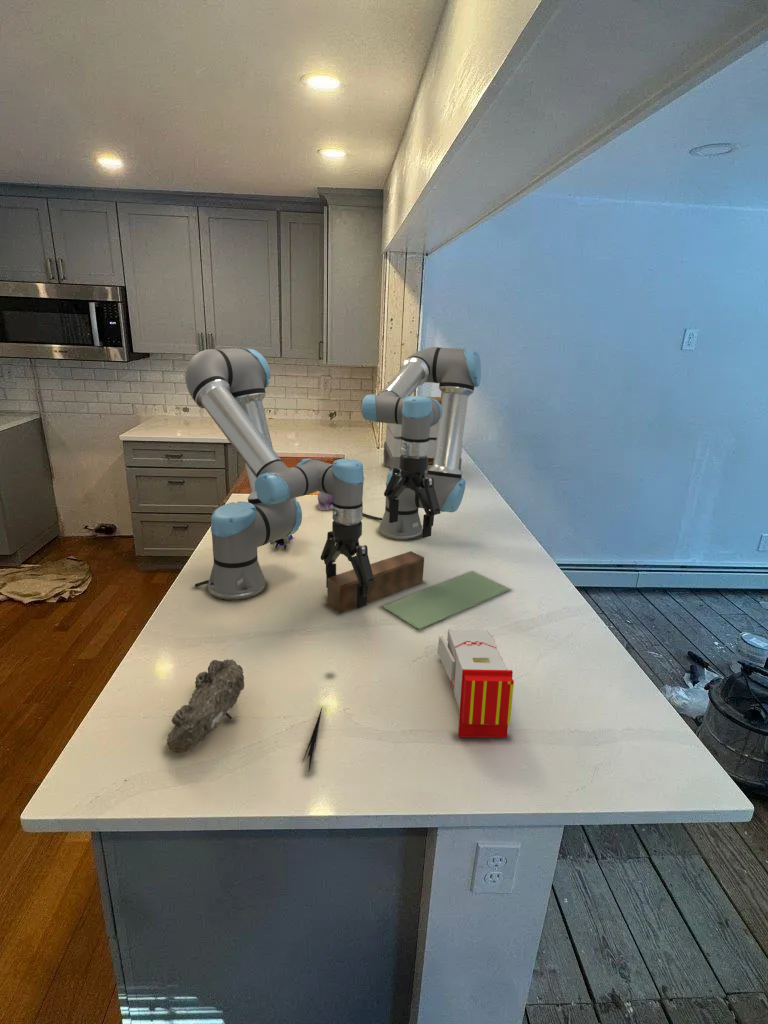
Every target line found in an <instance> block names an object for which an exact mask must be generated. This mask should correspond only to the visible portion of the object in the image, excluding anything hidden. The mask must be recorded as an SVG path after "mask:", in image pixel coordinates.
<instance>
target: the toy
mask: <svg viewBox="0 0 768 1024" xmlns="http://www.w3.org/2000/svg"><path fill="white" fill-rule="evenodd" d="M446 640H447V643H446V641H445V639H444V636H443V635H442V634H439V637H438V646H437V656H438V657H439V659H440V661H441V663H442V666H443V668H444V670H445V672H446V674H447V677H448V679H449V681H450V684H451V687H452V690H453V693H454V697H455V701H456V705H457V708H458V711H459V714H458V715H459V716H458V730H457V731H458V732H457V737H458V738H508V731H509V726H510V725H511V717H512V707H513V697H514V696H513V695H514V684H515V680H514V679H513V673H514V671H513V670H512V669H508V667H507V665H506V662H505V661H504V659H503V658H502V655H501V653H500V651H499V649H498V647H497V643H496V639H495V637H494V635H493V634H491V632H490V631H489V629H467V628H466V629H465V628H463V629H461V628H460V629H459V628H448V630H447V639H446Z"/></svg>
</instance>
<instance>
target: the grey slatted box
mask: <svg viewBox="0 0 768 1024" xmlns="http://www.w3.org/2000/svg"><path fill="white" fill-rule="evenodd" d="M440 393H441V394H440V396H427V397H428V398H433V399H435V400H437V401H438V402H439V403H440V404H441V403H442V395H443V394H442V392H441V391H440ZM438 425H439V421H438V422H437V423H436V424H435V425H433V426H431V427H430V434H429V450H428V455H427V458H428V464H427V467H431V466H432V465H433V461H434V454H435V447H436V439H437V432H438ZM401 431H402V425H400V424H392V423H386V428H385V438H384V442H383V466H384V467H388V468H389V472H390V471H391V470H393V468H397V467H399V466H400V456H401V455H402V454H401V453H400V450H401ZM464 431H465V430H464ZM464 431H463V433H464ZM463 442H464V441H463V440H462V445H461V452H460V459H459V466H458V468H459V470H460V472H461V473H462V461H463V460H462V453H463Z"/></svg>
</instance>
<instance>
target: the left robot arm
mask: <svg viewBox="0 0 768 1024" xmlns="http://www.w3.org/2000/svg"><path fill="white" fill-rule="evenodd" d="M185 369H186V370H185V385H186V388H187V390H188V393H189V395H190V397H191V398H192V400H193V401H194V403H195V404H196V405H197V406H198V407H199V408H200V409H205V411H206V412H207V414H208V415H209V416H210V417H211V419H212V420H213V421H214V423H215V425H217V427H218V428H219V429H220V431H221V432H222V434H223V435H224V436H225V438H226V439H227V441H229V443H230V444H231V446H232V447H233V448H234V450H235V451H236V452H237V454H238V455H239V457H240V458H241V459H242V460H243V463H244V466H245V470H246V475H247V479H248V484H249V487H250V493H249V495H248V497H247V501H236V502H229V503H225V504H223V505H222V504H221V506H219V507H217V508H216V509H215V510H214V511H212V515H211V519H210V532H211V541H212V542H211V543H212V544H211V545H212V557H213V565H212V568H211V571H210V574H209V578H208V579H207V580H202V581H199V582H197V583H194V586H195V588H198V587H201V586H204V585H207V588H208V589H207V590H208V593H209V594H210V595H211V596H213V597H214V598H217V599H220V600H226V601H239V600H246V599H250V598H253V597H254V596H257V595H260V593H262V592H263V591H264V590H265V589H266V579H265V575H264V573H263V570H262V567H261V565H260V563H259V559H258V557H259V556H258V548H261V547H263V546H266V545H268V544H270V543H271V542H273V541H276V540H279V539H284V538H286V537H288V536H290V535H292V536H293V535H294V534H296V533H297V532H298V530H299V529H300V527H301V524H302V521H303V510H302V506H301V504H300V502H299V501H297V498H299V497H304V496H307V495H311V494H315V493H317V492H318V493H319V492H324V493H327V494H331V495H333V509H332V520H333V521H332V523H331V524H332V526H331V527H332V528H331V531H328V532H327V535H326V541H325V544H324V547H323V549H322V552H321V555H320V560H321V561H323V562H324V564H325V576H326V577H325V578H326V579H325V583H326V584H325V587H326V589H327V581H328V580H327V578H329V577H332V576H335V575H337V563H336V562H337V560H338V558H339V557H340V555H342V556H344V557H345V558H347V560H348V562H350V564H351V566H352V568H353V569H352V570H354V571H355V574H356V576H357V578H358V581H359V584H357V607H356V608H357V609H360V608H363V607H366V606H368V603H367V596H368V585H371V584H374V583H375V581H374V577H373V573H372V569H371V565H370V564H371V562H370V557H369V554H368V553H369V552H368V550H369V549H368V546H367V545H366V544H365V545H361V544H360V542H359V540H360V538H361V536H363V535H362V534H363V522H362V521H363V519H364V518H363V517H364V516H363V513H364V512H363V509H364V508H363V507H364V505H363V496H364V481H365V477H364V464H363V463H362V462H361V461H360V460H358V459H355V458H352V459H351V458H339V459H336V460H334V461H333V463H329V462H326V461H322V460H320V459H316V458H303V459H301V460H300V461H299V462H298V463H297V464H296V465H295V466H291V467H288V466H287V464H286V463H284V461H283V460H282V459H281V458H280V456H279V454H277V452H276V451H275V450H274V448H273V442H272V437H271V434H270V429H269V424H268V421H267V416H266V412H265V408H264V403H263V400H264V399H265V397H266V396H267V393H266V389H267V388H268V386H269V384H270V379H271V369H270V366H269V364H268V361H267V360H266V358H265V357H264V356H263V354H262V353H260V352H259V351H258V350H256V349H253V348H245V347H236V348H218V349H217V348H216V349H214V348H209V349H204V350H201V351H199V352H197V353H196V354H194V355H193V356H192V357H191V359H190V360H189V362H188V363H187V366H186V368H185Z"/></svg>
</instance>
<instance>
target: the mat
mask: <svg viewBox="0 0 768 1024" xmlns="http://www.w3.org/2000/svg"><path fill="white" fill-rule="evenodd" d="M508 591H510V588H508V587H506V586H504V585H502V584H500V583H498V582H495V581H494V580H491V579H488V578H487V577H485V576H483V575H480V574H478V573H476V572H474V571H470V572H467V573H464V574H461V575H460V576H457V577H454V578H451V579H450V580H447V581H444V582H441V583H439V584H437V585H434V586H431V587H429V588H426V589H424V590H421V591H418V592H416V593H413V594H411V595H408V596H405V597H403V598H401V599H398V600H395V601H393V602H390V603H388V604H385V605H383V606H382V609H384V610H386V611H387V612H389V613H390V614H392V615H394V616H395V617H397V618H399V619H400V620H402V621H404V622H405V623H406V624H408V625H410V626H411V627H413V628H415V629H416V630H418V631H421V630H423V629H425V628H428V627H429V626H432V625H434V624H437V623H439V622H441V621H443V620H446V619H447V618H450V617H452V616H454V615H456V614H459V613H461V612H463V611H465V610H468V609H470V608H472V607H474V606H477V605H478V604H482V603H484V602H486V601H488V600H491V599H492V598H494V597H497V596H499V595H501V594H504V593H506V592H508Z"/></svg>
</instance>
